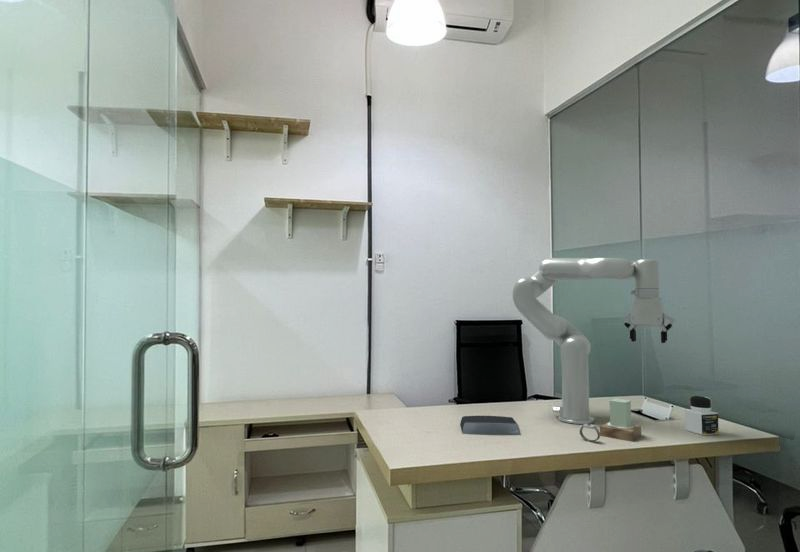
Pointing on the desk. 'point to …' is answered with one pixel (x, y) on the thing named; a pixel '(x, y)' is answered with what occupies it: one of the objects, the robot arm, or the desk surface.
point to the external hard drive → (489, 425)
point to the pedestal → (620, 431)
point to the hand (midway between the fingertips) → (648, 342)
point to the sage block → (620, 412)
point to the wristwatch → (591, 428)
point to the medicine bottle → (701, 417)
